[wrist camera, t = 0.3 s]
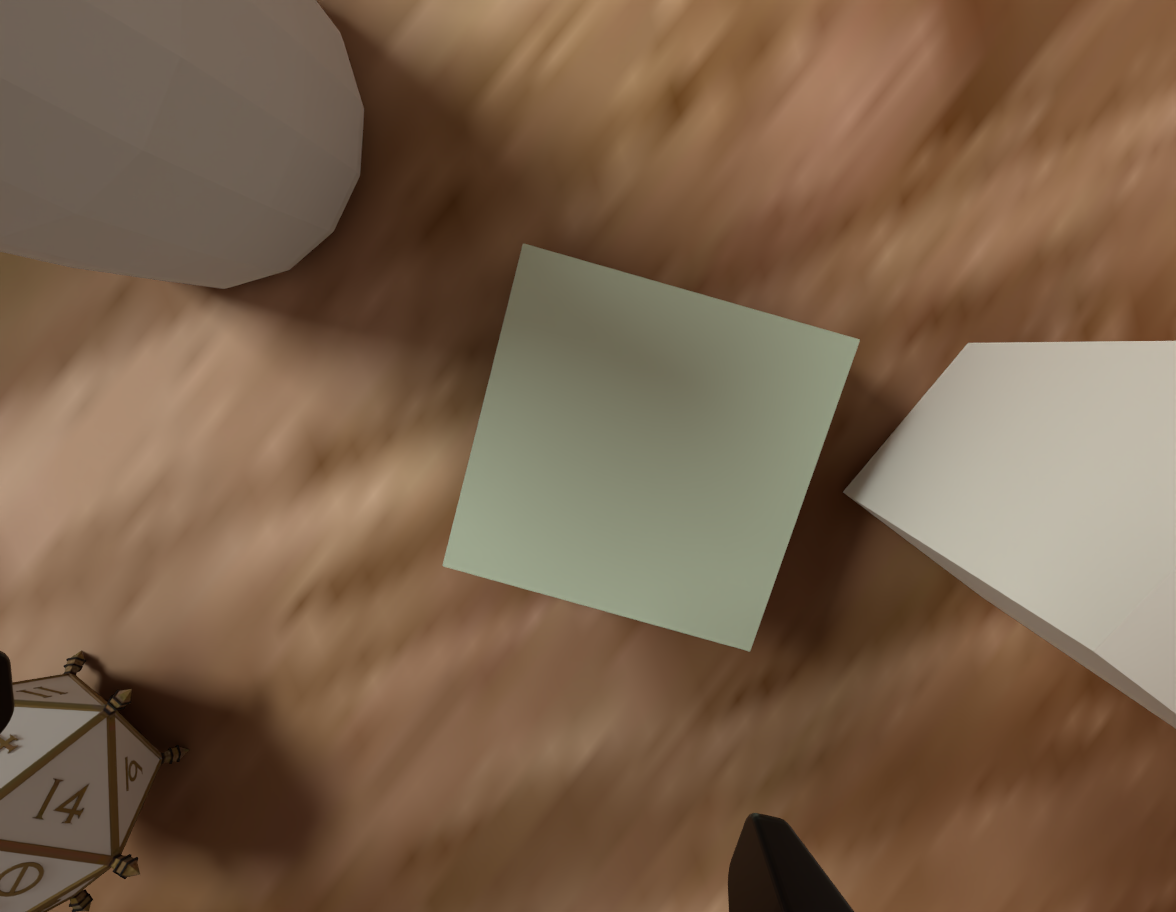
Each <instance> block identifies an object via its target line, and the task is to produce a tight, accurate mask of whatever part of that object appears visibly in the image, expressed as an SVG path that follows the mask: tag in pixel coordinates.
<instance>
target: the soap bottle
mask: <svg viewBox="0 0 1176 912" xmlns="http://www.w3.org/2000/svg"><path fill="white" fill-rule="evenodd" d="M363 122H364V107H363V104H362V101H361V97H360V94H359V91H358V87H357V84H356V81H355V77H354V74H353V71H352V68H351V64H350V61H349V58H348V54H347V51H346V48H345V45H344V42H343V39H342V36H341V33H340V31H339V30H338V29H337V27H336V26H335V25H334V23H333V22H332V21H331V19H330V18H329V17H328V16H327V14H326V13H325V12H324V10H323V9H322V8H321V6H320V5H319V4H318V2H317V1H316V0H0V251H1V252H5V253H10V254H14V255H18V256H23V257H27V258H32V259H36V260H40V261H45V262H49V263H54V264H58V265H63V266H67V267H71V268H78V269H85V270H92V271H99V272H106V273H113V274H120V275H126V276H133V277H140V278H147V279H154V280H161V281H168V282H176V283H183V284H191V285H198V286H206V287H214V288H221V289H226V288H230V287H234V286H237V285H240V284H244V283H247V282H251V281H254V280H257V279H261V278H264V277H267V276H271V275H274V274H278V273H281V272H284V271H288V270H290V269H291V268H292V267H294V266H295V265H296V264H297V263H298V262H299V261H300V260H302V259H303V258H304V257H305V256H306V255H307V254H308V253H310V252H311V251H312V250H313V249H314V248H315V247H316V246H318V245H319V244H320V243H321V242H322V241H323V240H325V239H326V238H327V237H328V236H329V235H330V234H331V233H333V232H334V230H335V228H336V226H337V223H338V221H339V219H340V217H341V215H342V213H343V211H344V209H345V207H346V204H347V202H348V200H349V198H350V196H351V194H352V192H353V190H354V187H355V185H356V183H357V181H358V179H359V177H360V170H361V154H362V138H363Z"/></svg>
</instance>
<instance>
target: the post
mask: <svg viewBox="0 0 1176 912" xmlns="http://www.w3.org/2000/svg"><path fill="white" fill-rule="evenodd" d="M843 493H844V494H846V495H847V496H848V497H850V498H851V499H852V500H854V501H855V502H856V503H858V504H859V505H860V506H862V507H863V508H864V509H866V510H867V511H868V512H870V513H871V514H872V515H874V516H875V517H876V518H878V519H879V520H880V521H882V522H883V523H884V524H886V525H887V526H888V527H890V528H891V529H892V530H894V531H895V532H896V533H898V534H899V535H900V536H902V537H903V538H904V539H906V540H907V541H908V542H910V543H911V544H912V545H913V546H915V547H916V548H917V549H919V550H920V551H921V552H923V553H924V554H925V555H927V556H928V557H929V558H931V559H932V560H933V561H935V562H936V563H937V564H939V565H940V566H941V567H943V568H944V569H945V570H947V571H948V572H949V573H951V574H952V575H953V576H955V577H956V578H957V579H959V580H960V581H961V582H963V583H964V584H965V585H967V586H968V587H969V588H971V589H972V590H973V591H975V592H976V593H977V594H979V595H980V596H981V597H983V598H984V599H986V600H987V601H989V602H990V603H992V604H993V605H994V606H996V607H997V608H999V609H1000V610H1002V611H1003V612H1005V613H1006V614H1008V615H1009V616H1011V617H1012V618H1014V619H1015V620H1017V621H1018V622H1019V623H1021V624H1022V625H1024V626H1025V627H1027V628H1028V629H1030V630H1031V631H1033V632H1034V633H1036V634H1037V635H1039V636H1040V637H1042V638H1043V639H1044V640H1046V641H1047V642H1049V643H1050V644H1052V645H1053V646H1055V647H1056V648H1058V649H1059V650H1061V651H1062V652H1064V653H1065V654H1067V655H1068V656H1070V657H1071V658H1072V659H1074V660H1075V661H1077V662H1078V663H1080V664H1081V665H1083V666H1084V667H1086V668H1087V669H1089V670H1090V671H1092V672H1093V673H1095V674H1096V675H1097V676H1099V677H1100V678H1102V679H1103V680H1105V681H1106V682H1108V683H1109V684H1111V685H1112V686H1114V687H1115V688H1117V689H1118V690H1120V691H1121V692H1123V693H1124V694H1125V695H1127V696H1128V697H1130V698H1131V699H1133V700H1134V701H1136V702H1137V703H1139V704H1140V705H1142V706H1143V707H1145V708H1146V709H1148V710H1149V711H1150V712H1152V713H1153V714H1155V715H1156V716H1158V717H1159V718H1161V719H1162V720H1164V721H1165V722H1167V723H1168V724H1170V725H1171V726H1173V727H1174V728H1175V729H1176V341H1119V342H1013V343H968V344H967V345H966V346H965V347H964V349H963V350H962V351H961V352H960V353H959V354H958V356H957V357H956V358H955V359H954V360H953V362H952V363H951V364H950V365H949V366H948V368H947V369H946V370H945V371H944V372H943V373H942V375H941V376H940V377H939V378H938V379H937V381H936V382H935V383H934V384H933V385H932V387H931V388H930V389H929V390H928V391H927V392H926V394H925V395H924V396H923V397H922V398H921V400H920V401H919V402H918V403H917V404H916V406H915V407H914V408H913V409H912V410H911V412H910V413H909V414H908V415H907V416H906V417H905V419H904V420H903V421H902V422H901V423H900V425H899V426H898V427H897V428H896V429H895V431H894V432H893V433H892V434H891V435H890V436H889V438H888V439H887V440H886V441H885V442H884V444H883V445H882V446H881V447H880V448H879V450H878V451H877V452H876V453H875V454H874V455H873V457H872V458H871V459H870V460H869V461H868V463H867V464H866V465H865V466H864V467H863V469H862V470H861V471H860V472H859V473H858V475H857V476H856V477H855V478H854V479H853V480H852V482H851V483H850V484H849V485H848V486H847V488H846V489H845V490H844V491H843Z"/></svg>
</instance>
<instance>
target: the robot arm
mask: <svg viewBox="0 0 1176 912" xmlns="http://www.w3.org/2000/svg"><path fill="white" fill-rule="evenodd" d="M13 712H14V694H13V684H12V674H11V664H10V660H9V658H8V656H7V655H6V654H5V653H3V652H2V651H0V734H1V733H2V731H3V730H4V729H5V728H6V726H7V725H8V723H9V722H10V720H11V717H12V715H13ZM728 898H729V912H854V911H853V909H852V908H851V907H850V905H849V904H848V903H847V901H846V900H845V899H844V897H843V896H842V895H841V893H840V892H839V891H838V889H837V888H836V887H835V885H834V884H833V883H832V881H831V880H830V879H829V877H828V876H827V875H826V873H825V872H824V871H823V869H822V868H821V867H820V865H819V864H818V863H817V861H816V860H815V859H814V857H813V856H812V855H811V853H810V852H809V851H808V849H807V848H806V847H805V845H804V844H803V843H802V841H801V840H800V838H799V837H798V836H797V834H796V833H795V832H794V830H793V829H792V828H791V826H790V825H789V824H788V823H787V822H786V821H785V820H783V819H781V818H777V817H772V816H768V815H763V814H758V813H752V814H750V815H749V816H748V817H747V819H746V821H745V823H744V826H743V829H742V832H741V834H740V837H739V840H738V843H737V845H736V848H735V851H734V854H733V857H732V859H731V863H730V867H729V874H728Z"/></svg>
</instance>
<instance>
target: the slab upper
mask: <svg viewBox="0 0 1176 912" xmlns="http://www.w3.org/2000/svg"><path fill="white" fill-rule="evenodd" d="M859 341H860V339H856V338H853V337H849V336H846V335H842V334H839V333H835V332H832V331H828V330H825V329H821V328H818V327H814V326H811V325H807V324H804V323H800V322H797V321H793V320H790V319H786V318H783V317H779V316H776V315H772V314H769V313H765V312H762V311H758V310H755V309H751V308H748V307H744V306H741V305H737V304H734V303H730V302H727V301H723V300H720V299H716V298H713V297H709V296H706V295H702V294H699V293H695V292H692V291H688V290H685V289H681V288H678V287H674V286H671V285H667V284H664V283H660V282H657V281H653V280H650V279H646V278H643V277H639V276H636V275H632V274H629V273H625V272H622V271H618V270H615V269H611V268H608V267H604V266H601V265H598V264H594V263H591V262H587V261H584V260H580V259H577V258H573V257H570V256H566V255H563V254H559V253H556V252H552V251H549V250H545V249H542V248H538V247H535V246H531V245H528V244H524V243H523V245H522V249H521V253H520V257H519V261H518V265H517V269H516V273H515V277H514V281H513V285H512V289H511V293H510V297H509V302H508V306H507V310H506V314H505V318H504V322H503V326H502V330H501V334H500V338H499V342H498V346H497V350H496V354H495V358H494V362H493V366H492V370H491V374H490V378H489V382H488V386H487V390H486V394H485V398H484V402H483V406H482V410H481V414H480V418H479V422H478V426H477V430H476V434H475V438H474V442H473V446H472V450H471V454H470V458H469V462H468V466H467V470H466V474H465V478H464V482H463V486H462V490H461V494H460V498H459V502H458V506H457V510H456V514H455V518H454V522H453V526H452V530H451V534H450V538H449V542H448V546H447V550H446V554H445V558H444V562H443V566H444V567H448V568H451V569H455V570H458V571H462V572H466V573H469V574H473V575H476V576H480V577H484V578H487V579H491V580H494V581H498V582H502V583H505V584H509V585H512V586H516V587H520V588H523V589H527V590H530V591H534V592H538V593H541V594H545V595H548V596H552V597H556V598H559V599H563V600H566V601H570V602H574V603H577V604H581V605H584V606H588V607H592V608H595V609H599V610H602V611H606V612H610V613H613V614H617V615H620V616H624V617H628V618H631V619H635V620H638V621H642V622H646V623H649V624H653V625H656V626H660V627H664V628H667V629H671V630H674V631H678V632H682V633H685V634H689V635H692V636H696V637H700V638H703V639H707V640H710V641H714V642H718V643H721V644H725V645H728V646H732V647H736V648H739V649H743V650H746V651H750V650H751V648H752V645H753V642H754V639H755V636H756V633H757V631H758V628H759V625H760V622H761V619H762V616H763V614H764V611H765V608H766V605H767V602H768V599H769V597H770V594H771V591H772V588H773V585H774V582H775V580H776V577H777V574H778V571H779V568H780V565H781V563H782V560H783V557H784V554H785V551H786V548H787V546H788V543H789V540H790V537H791V534H792V531H793V529H794V526H795V523H796V520H797V517H798V514H799V512H800V509H801V506H802V503H803V500H804V497H805V494H806V492H807V489H808V486H809V483H810V480H811V477H812V475H813V472H814V469H815V466H816V463H817V460H818V458H819V455H820V452H821V449H822V446H823V443H824V441H825V438H826V435H827V432H828V429H829V426H830V424H831V421H832V418H833V415H834V412H835V409H836V407H837V404H838V401H839V398H840V395H841V392H842V390H843V387H844V384H845V381H846V378H847V375H848V373H849V370H850V367H851V364H852V361H853V358H854V356H855V353H856V350H857V347H858V344H859Z"/></svg>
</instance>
